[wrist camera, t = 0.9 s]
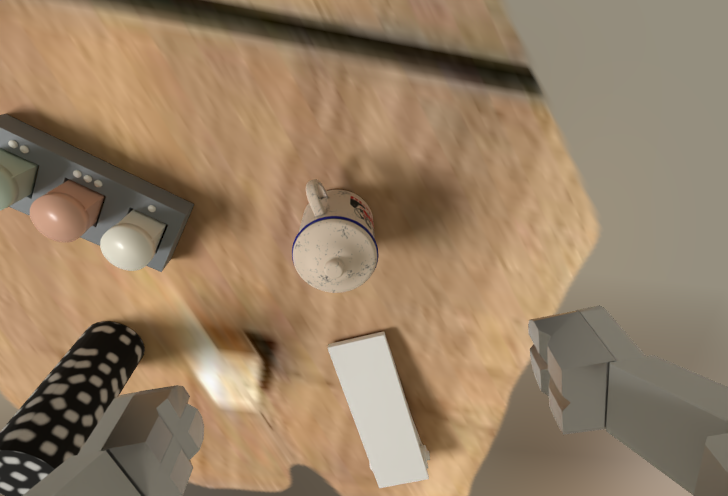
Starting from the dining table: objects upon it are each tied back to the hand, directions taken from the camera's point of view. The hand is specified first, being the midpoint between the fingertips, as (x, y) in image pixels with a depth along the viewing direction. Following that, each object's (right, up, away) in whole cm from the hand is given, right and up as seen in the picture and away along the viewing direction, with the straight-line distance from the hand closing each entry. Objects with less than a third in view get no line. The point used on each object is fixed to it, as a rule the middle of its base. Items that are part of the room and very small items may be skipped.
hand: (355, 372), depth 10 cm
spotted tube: (-35, -11, +52) cm, 64 cm away
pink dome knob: (-31, +8, +39) cm, 50 cm away
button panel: (-31, +9, +41) cm, 52 cm away
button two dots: (-37, +11, +37) cm, 54 cm away
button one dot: (-25, +5, +40) cm, 48 cm away
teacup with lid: (-3, +7, +43) cm, 43 cm away
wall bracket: (+3, -21, +59) cm, 62 cm away
